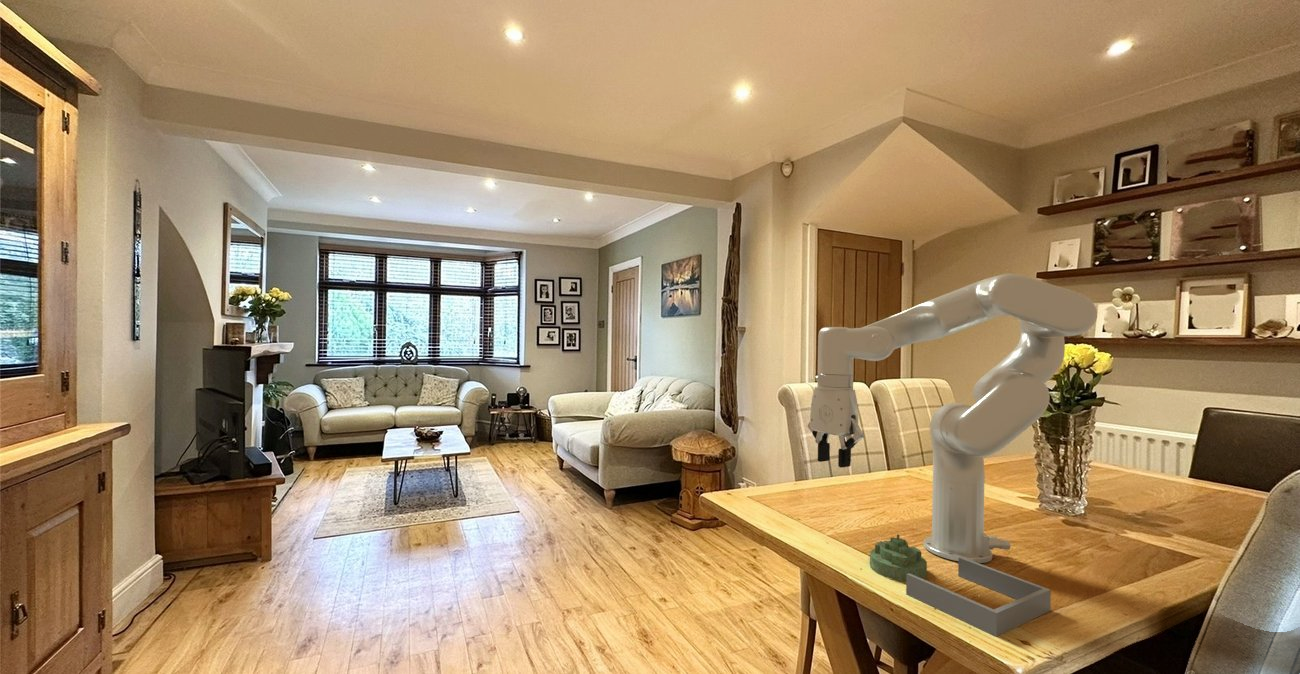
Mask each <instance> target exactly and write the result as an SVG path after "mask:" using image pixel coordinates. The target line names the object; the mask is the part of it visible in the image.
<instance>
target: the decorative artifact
mask: <svg viewBox="0 0 1300 674" xmlns="http://www.w3.org/2000/svg"><path fill="white" fill-rule="evenodd" d="M908 544H909V543H908V541H907V540H906V539H902V538H900V534H896V537H894V536H893V537H890V540H889V541H888V540H883V541H878V542H876V543H875V544H874V548H873V549H871V551H869V568H870V569H871V570H872V571H873V572H874V573H876V574H878V575H880V576H882V577H885V578H886V579H891V580H893V581H894V580H895V581H899V582H905V583H906V575H907V574H908V573H910V574H912V575H915V576H917V577H919V578H922V579H924V580H926V579H927V576H928V569H927V568H928V562H927V560H926V559H925V558H924V557H923V556H922V551H921V550H920V549H919V548H917V547H915V546H909V545H908Z"/></svg>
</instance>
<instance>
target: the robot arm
mask: <svg viewBox="0 0 1300 674" xmlns="http://www.w3.org/2000/svg"><path fill="white" fill-rule="evenodd" d="M1007 316H1009V317H1012V318H1014V319H1017V320H1018V326H1019V331H1020V333H1019V335H1020V336H1019V340H1018V341H1019V342H1018V343H1017V345H1016V346H1015V348H1014V349H1013V350H1012V351H1010V353H1009V354H1008V355H1007V356H1005V357H1004V358H1003V359H1002V360H1001V361H999V363H997V364H996V365H995V366H994V367H993V368H991V369H990V370H989V371H987V372H986V373H985V374H984V375H983V376H981V377H980V378H979V379H978V380H977V381H976V383H975V384H974V387H973V389H972V396H973V397H972V398H973V399H974V402H975V403H974V404H973V405H967V404H965V403H960V402H952V403H947V404H944V405H943V404H942V406H940V407H939V408H937V409H936V410H935V412H934V413H933V415H932V417H931V419H930V424H929V426H930V427H929V431H930V432H929V433H930V440H931V447H932V501H931V502H932V505H931V507H932V510H931V511H932V513H931V514H932V516H931V517H932V519H931V521H932V522H931V535H930V536H927V537H925V538H924V539H923V546H924V548H925V549H926V550H927V551H928V552H930V553H932V554H933V555H936V556H938V557H941V558H944V559H947V560H951V561H954V562H959V557H963V558H965V559H968V560H971V561H974V562H976V563H979V564H985V563H986V564H987V563H989V562H991V561H992V559H993V552H992V551H993V550H994V549H998V550H999V549H1000V550H1008V551H1010V549H1011V542H1010V540H1009V539H1000V538H998V537H997V536H995V535H994V536H993V535H988V534H987V533H985V529H984V528H985V526H984V525H985V482H986V480H985V479H986V478H985V476H986V475H985V473H986V471H985V461H984V457H989V456H992V455H994V454H996V453H998V452H1000V451H1001V450H1003V449H1004V448H1005V447H1007V446H1008V445H1009V444H1011V443H1012V442H1013V441H1014V440H1016V438H1017V437H1019V436H1020V435H1021V434H1023V432H1025V431H1026V430H1028V428H1030V427H1031V426H1032V425H1033V424H1034V423H1036V422H1037V421H1038V420H1039V419H1040V418H1042V416H1043V415H1044V413H1045V412H1046V411H1047V408H1048V406H1049V404H1050V399H1051V398H1050V396H1051V395H1050V391H1049V388H1048V386H1047V385H1046V382H1048V381H1049V380H1050V379H1051V378H1052V377H1053V376H1054V375H1056V373H1057V372H1058V371H1059V370H1060V368H1061V367H1062V364H1063V362H1064V360H1065V359H1064V358H1065V348H1066V345H1065V337H1074V336H1075V337H1076V336H1078V335H1082V334H1085V333H1086V332H1088V331H1089V330H1091V328H1093V326H1094V325H1095V323H1096V322H1097V320H1098V310H1097V307H1096V305H1095V303H1094V302H1093V301H1092V300H1091V299H1090V298H1089V297H1087V296H1086V295H1084V294H1083V293H1079V292H1077V291H1075V290H1072V289H1070V288H1069V289H1068V288H1065V287H1061V286H1058V285H1054V284H1051V283H1049V282H1045V281H1041V280H1039V279H1035V278H1032V277H1029V276H1025V275H1021V274H1018V273H1017V274H1016V273H1003V274H1002V273H1001V274H1000V275H995V276H991V277H988V278H984V279H982V280H978V281H976V282H973V283H971V284H967V285H965V286H963V287H960V288H958V289H955V290H952V291H951V292H948V293H944V294H942V295H940V296H938V297H935V298H932V299H929V300H927V301H925V302H922V303H920V304H917V305H915V306H913V307H911V308H908V309H907V310H904V311H902V312H901V311H900V312H899V313H896V314H894V315H890V316H889V317H886V318H884V319H881V320H878V321H876V322H873V323H870V324H867V325H865V326H862V327H854V328H850V327H844V326H826V327H822V328H821V329H820V330H819V331H818V337H817V339H818V340H817V344H818V345H817V375H816V376H815V378H814V379H815V382H817V386H815V387H814V389H813V392H812V398H811V403H810V413H809V415H810V416H809V417H810V418H809V422H808V423H807V428H808V429H809V432H811V433H812V436H813V437H814V439H815V440H814V441H815V443H816V444H817V462H818V463H821V462H822V463H824V462H828V461H830V455H831V453H830V452H831V449H830V448H831V447H830V446H831V445H830V442H828V441H829V438H830V435H834V436H838V440H839V445H840V448H838V455H837V457H838V458H837V459H838V460H837V462H838V463H837V466H838V467H839V468H848V467H849V468H850V466H851V463H852V449H854V447H855V446H856V445H857V443H858V442H859V441H862V439H863V438H865V434H864V433H863V431H862V429H861V427H860V426H859V408H858V407H859V405H858V398H857V393H856V390H855V389H854V368H855V367H854V363H855V361H854V359H860V360H864V361H871V362H877V361H882V360H885V359H887V358H888V357H890V356H891V355H892V354H893V352H894V350H896V349H899V348H902V347H905V346H908V345H909V346H910V345H913V344H916V343H921V342H929V341H935V340H938V339H943V338H946V337H948V336H951V335H953V334H957V333H959V332H961V331H964V330H966V329H970V328H972V327H975V326H977V325H980V324H982V323H986V322H988V321H991V320H995V319H997V318H1000V317H1007Z"/></svg>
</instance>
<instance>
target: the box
mask: <svg viewBox="0 0 1300 674" xmlns="http://www.w3.org/2000/svg"><path fill="white" fill-rule="evenodd" d="M957 573H958V575H957V576H958V577H960V578H963V579H964V580H967V581H970V582H971V583H972V582H973V583H974V584H977V585H979V586H982V587H985V588H987V589H990V590H992V591H995V592H997V593H1000V594H1002V595H1005V596H1007V597H1010V598H1012V599H1015V600H1014V601H1010V602H1009V603H1006V604H1004V605H1002V606H999V607H996V608H994V609H993V608H991V607H989V606H986V605H984V604H982V603H981V602H977V601H975V600H973V599H970V598H968V597H965V596H963V595H961V594H958V593H956V592H954V591H952V590H949V589H947V588H945V587H942V586H940V585H938V584H935V583H933V582H931V581H928V580H926V579H922V578H919V577H917V576H915V575H912V574H910V573H908V574H907V575H906V582H905V583H906V589H905V592H906V593H905V594H906V595H907V596H910V597H912V598H913V599H916V600H918V601H920V602H923V603H924V604H926V605H929V606H930V607H933V608H935V609H938V610H939V611H941V612H944V613H945V614H948V615H949V616H952V617H954V618H956V619H958V620H960V621H963V622H965V623H967V624H969V625H970V626H973V627H975V628H977V629H979V630H982V631H983V632H985V633H987V634H990V635H992V636H994V637H998V636H1000V635H1003V634H1005V633H1007V632H1009V631H1011V630H1013V629H1015V628H1017V627H1020V626H1021V625H1024V624H1026V623H1028V622H1031V621H1033V620H1034V619H1036V618H1039V617H1041V616H1043V615H1044V614H1047V613H1049V612H1051V608H1052V607H1051V604H1052V603H1051V600H1052V599H1051V594H1052V590H1051V589H1049V588H1047V587H1044V586H1042V585H1038V584H1036V583H1033V582H1030V581H1028V580H1026V579H1023V578H1019V577H1018V576H1014V575H1011V574H1009V573H1007V572H1006V573H1005V572H1004V571H1001V570H997V569H995V568H993V567H989V566H987V565H984V564H983V563H976V562H974V561H971V560H968V559H965V558H963V557H959V561H958V572H957Z"/></svg>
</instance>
